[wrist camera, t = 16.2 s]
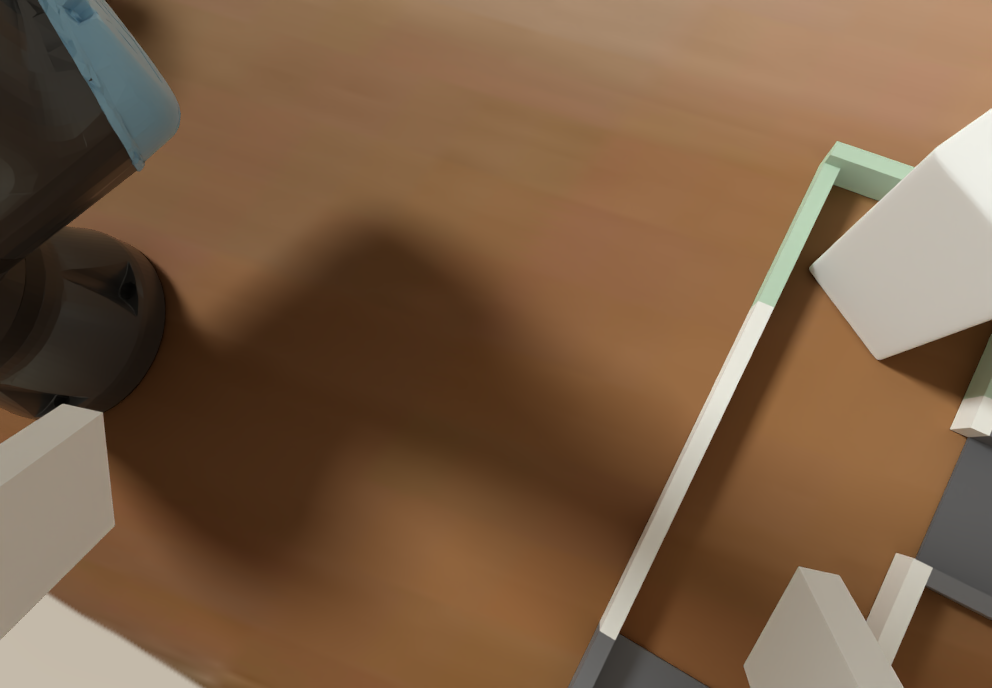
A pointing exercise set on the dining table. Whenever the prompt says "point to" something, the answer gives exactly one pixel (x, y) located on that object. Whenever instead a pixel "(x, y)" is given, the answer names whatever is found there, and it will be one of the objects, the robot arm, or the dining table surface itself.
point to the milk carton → (920, 251)
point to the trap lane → (938, 565)
